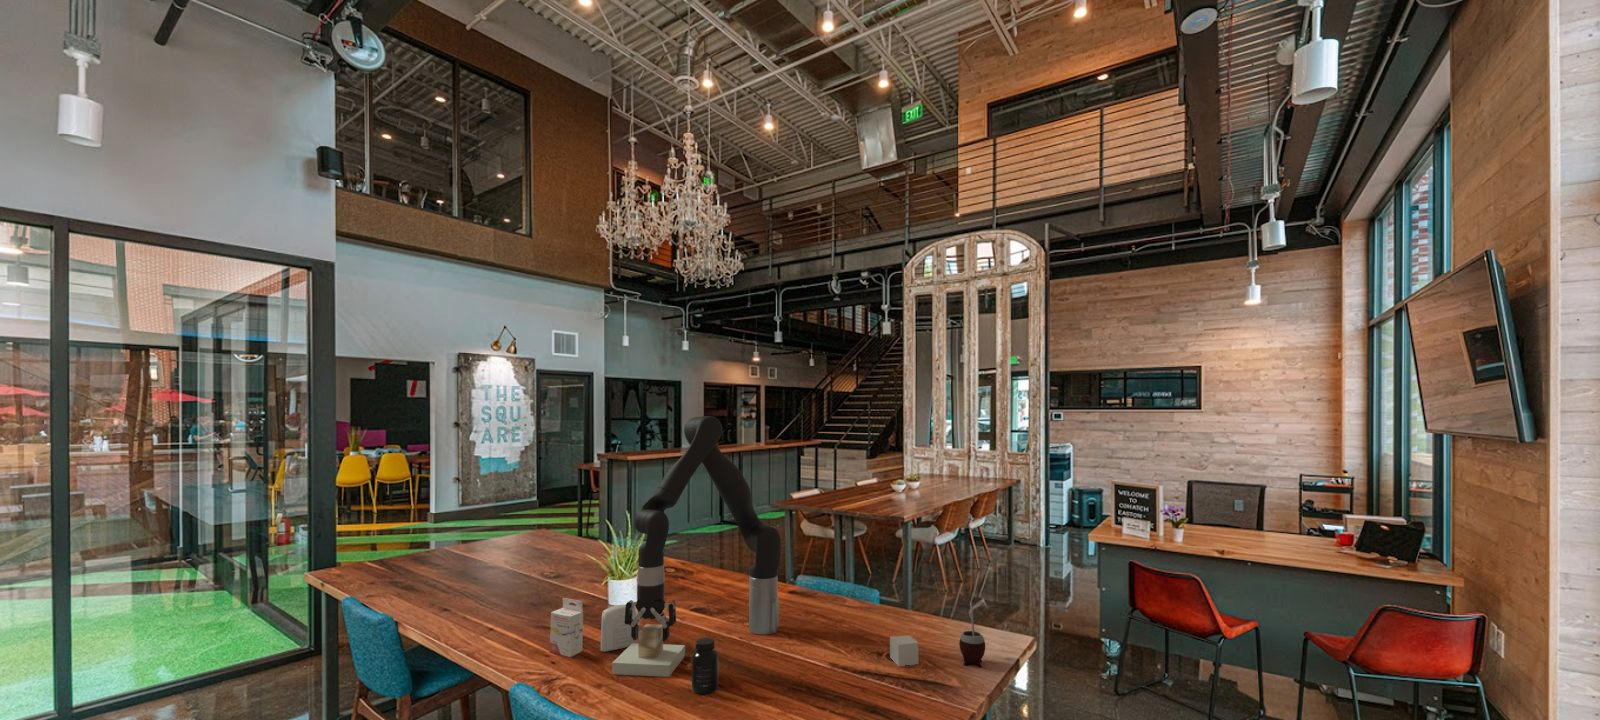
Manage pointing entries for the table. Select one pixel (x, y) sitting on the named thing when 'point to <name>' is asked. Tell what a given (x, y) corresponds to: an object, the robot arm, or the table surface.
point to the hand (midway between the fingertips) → (650, 640)
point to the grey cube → (904, 650)
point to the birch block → (650, 641)
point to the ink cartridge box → (567, 629)
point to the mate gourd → (972, 645)
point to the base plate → (649, 661)
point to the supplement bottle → (705, 667)
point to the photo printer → (615, 629)
